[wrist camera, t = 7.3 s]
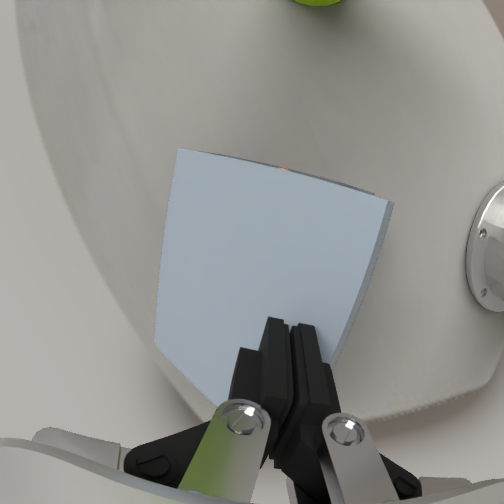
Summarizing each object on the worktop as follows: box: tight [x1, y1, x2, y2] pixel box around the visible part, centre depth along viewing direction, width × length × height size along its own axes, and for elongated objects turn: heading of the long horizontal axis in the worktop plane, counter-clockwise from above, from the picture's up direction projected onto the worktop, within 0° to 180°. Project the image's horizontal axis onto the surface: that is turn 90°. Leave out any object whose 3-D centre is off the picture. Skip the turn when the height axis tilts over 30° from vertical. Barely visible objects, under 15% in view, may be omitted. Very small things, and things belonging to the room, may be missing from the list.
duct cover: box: [154, 148, 394, 407], centre depth 13 cm, size 11×12×1 cm
